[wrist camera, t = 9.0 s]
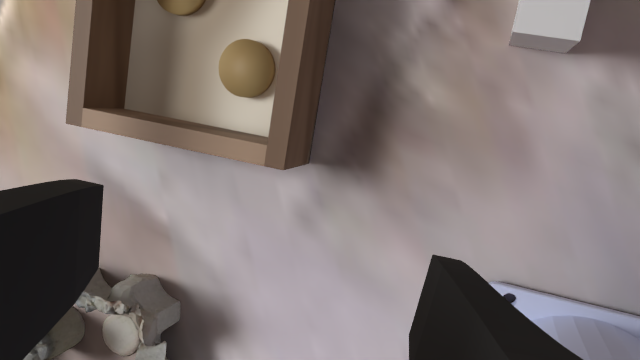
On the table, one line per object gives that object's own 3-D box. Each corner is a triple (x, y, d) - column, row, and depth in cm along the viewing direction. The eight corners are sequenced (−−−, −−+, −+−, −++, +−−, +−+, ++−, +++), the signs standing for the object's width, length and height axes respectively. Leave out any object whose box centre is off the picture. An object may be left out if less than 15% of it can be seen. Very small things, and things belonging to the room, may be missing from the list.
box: (348, -84, 21) (327, -115, 18) (308, 163, 23) (283, 170, 20) (134, -100, 24) (86, -129, 21) (112, 122, 26) (65, 123, 23)
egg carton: (192, 275, 26) (140, 303, 22) (185, 420, 27) (134, 472, 23) (14, 242, 29) (-60, 262, 25) (13, 375, 30) (-57, 414, 26)
